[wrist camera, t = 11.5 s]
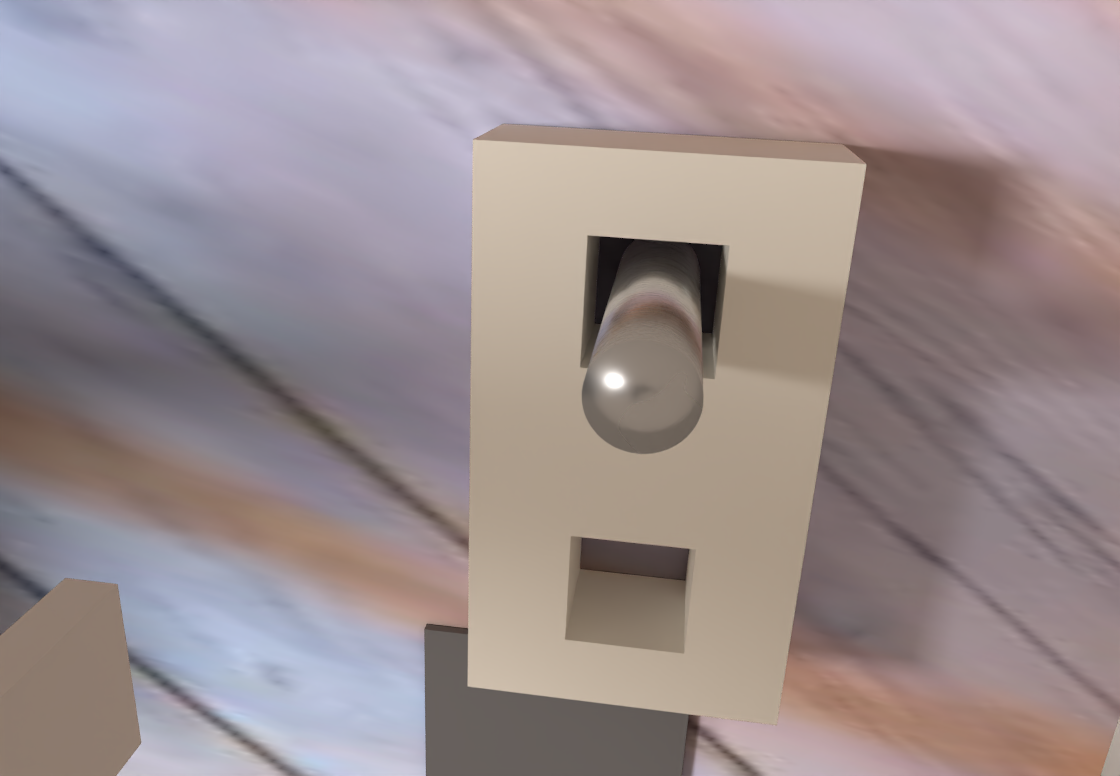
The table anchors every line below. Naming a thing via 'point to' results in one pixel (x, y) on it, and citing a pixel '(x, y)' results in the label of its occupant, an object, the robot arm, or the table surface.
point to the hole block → (664, 477)
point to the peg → (648, 351)
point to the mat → (535, 727)
